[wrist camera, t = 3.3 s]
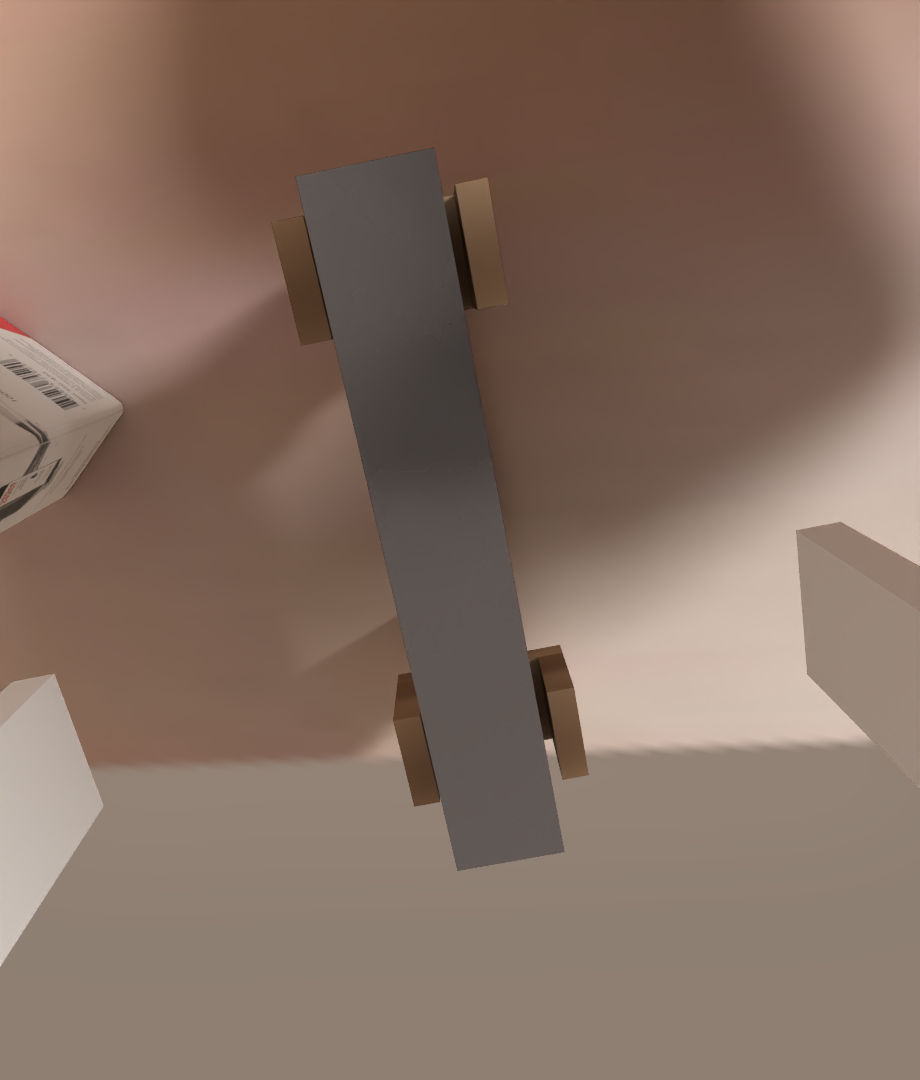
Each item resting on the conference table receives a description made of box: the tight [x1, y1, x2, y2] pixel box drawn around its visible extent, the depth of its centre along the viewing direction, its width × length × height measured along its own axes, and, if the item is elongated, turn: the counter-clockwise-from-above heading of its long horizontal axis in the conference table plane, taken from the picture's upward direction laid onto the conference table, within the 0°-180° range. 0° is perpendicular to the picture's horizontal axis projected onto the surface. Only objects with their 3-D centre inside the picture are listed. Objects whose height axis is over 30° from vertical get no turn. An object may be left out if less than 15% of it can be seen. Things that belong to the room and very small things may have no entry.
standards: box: [271, 178, 589, 806], centre depth 27 cm, size 18×5×10 cm, turn 11°
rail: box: [296, 148, 564, 871], centre depth 22 cm, size 18×3×5 cm, turn 11°
